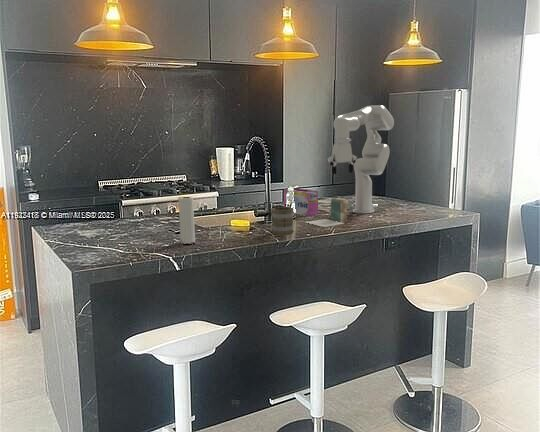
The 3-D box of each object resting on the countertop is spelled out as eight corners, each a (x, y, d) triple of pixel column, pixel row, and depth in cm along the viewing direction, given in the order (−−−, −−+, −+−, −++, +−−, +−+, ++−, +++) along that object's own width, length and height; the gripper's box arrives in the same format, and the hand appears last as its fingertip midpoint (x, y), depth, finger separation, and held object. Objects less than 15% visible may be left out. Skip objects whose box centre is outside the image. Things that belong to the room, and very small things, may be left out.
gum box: (281, 211, 326) (281, 188, 324) (291, 209, 331) (291, 187, 329) (308, 216, 308) (308, 192, 305) (318, 214, 313) (318, 191, 310)
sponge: (336, 219, 296) (336, 197, 293) (346, 221, 289) (346, 199, 287) (330, 220, 293) (330, 198, 291) (340, 222, 287) (340, 200, 285)
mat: (324, 219, 296) (324, 219, 296) (344, 223, 283) (344, 223, 283) (304, 222, 288) (304, 222, 288) (324, 227, 275) (324, 226, 275)
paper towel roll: (196, 244, 242) (194, 197, 238) (182, 245, 241) (180, 198, 237) (193, 241, 249) (191, 195, 245) (180, 242, 247) (178, 196, 244)
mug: (295, 234, 260) (295, 209, 258) (273, 235, 258) (273, 211, 256) (289, 228, 275) (289, 204, 273) (268, 229, 273) (268, 205, 271)
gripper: (353, 140, 295) (353, 171, 298) (324, 141, 289) (325, 173, 293) (360, 140, 288) (360, 172, 291) (330, 142, 282) (331, 175, 286)
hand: (342, 173), depth 292 cm, fingers open, 9 cm apart
